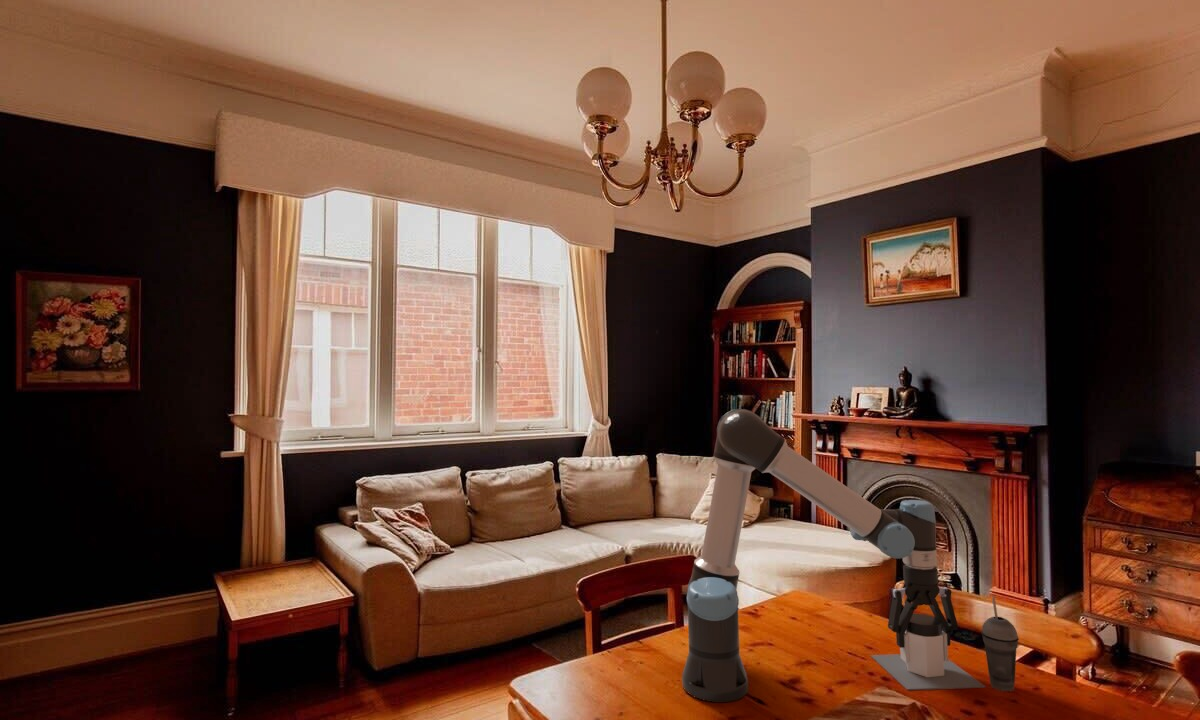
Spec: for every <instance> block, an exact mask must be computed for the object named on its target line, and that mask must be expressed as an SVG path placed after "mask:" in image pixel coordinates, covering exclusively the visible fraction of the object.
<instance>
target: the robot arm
mask: <svg viewBox="0 0 1200 720" xmlns="http://www.w3.org/2000/svg"><path fill="white" fill-rule="evenodd" d="M712 457H713V459H714V460H715V463H716V464H717V468H716V473H715V480H714V484H713V485H714V486H713V490H712V495H711V500H710V507H709V513H708V518H707V522H706V527H705V534H704V540H703V545H702V549H701V550H702V551H701V554H700V556H699V557H696V558H695V559H694V562H693V567H692V571H691V577H690V579H689V582H688V584H687V585H688V586H687V594H686V603H687V620H688V621H687V622H688V623H687V624H688V625H687V627H688V629H687V630H688V632H687V633H688V653H687V656H686V660H685V664H684V667H683V671H682V675H681V678H682V679H681V682H682V683H681V684H683V686H682V688H683V687H684V688H685V690H686V691H687V692H689V693H690V694H691V695H693V696H695V697H698V698H700V699H699V700H701V699H704V700H703V701H705V700H707V701H706V702H710V701H712V702H713V703H726V702H727V703H728V702H734V701H737V700H739V699H742V698H743V697H745V696H746V695H747V693H748V691H749V679H748V675H747V672H746V669H745V667H744V664H743V660H742V658H741V655H740V631H739V627H740V626H739V601H740V600H739V595H738V591H737V589H738V582H739V577H740V570H739V568H738V567H737V566H736V559H737V558H736V557H737V553H738V548H739V543H740V539H741V538H740V537H741V532H742V525H743V520H744V515H745V509H746V503H747V498H748V492H749V488H750V481H751V476H752V472H753V471H755V470H757V471H759V472H761V474H764V473H766V474H767V473H769V474H771V476H774V477H775V478H777V479H778V480H779V481H781V482H783V483H784V484H785V485H786V486H788V487H789V488H791V489H792V490H794V491H795V492H797V493H798V494H800V495H801V496H802V497H803V498H806V499H807V500H808V501H809V502H811V503H812V504H813V505H816V506H817V507H819V509H821V510H823V511H824V512H825V513H828V515H830V516H832V517H833V518H834V519H836V520H837V521H839V522H840V523H841V524H843V525H844V526H846V527H847V528H849V531H850V535H851V537H852V538H853V539H854V540H855V541H864V542H866V541H867V542H869V543H870V544H872V546H874V547H876V548H877V549H878V550H879V551H881V552H882V553H883V554H884V555H886V556H888V557H890V558H892V559H902V562H903V566H902V570H903V573H902V574H903V576H902V577H903V582H904V583H903V585H902V588H895V587H892V588H891V589H890V591H891V597H892V599H891V603H890V609H889V616H888V622H887V628H888V629H889V630H891V632H893V633H895V638H896V646H898V647H899V652H900V653H899V654H900V655H901V659H902V660H904V661H905V662H906V663H909V641H908V635H907V634H906V633H905V631H906V629H907V627H908V624H909V622H910V620H911V617H912V615H913V614H915V610H917V608H918V606H923V605H925V606H928V607H929V608H930V610H931V613H932V614H933V617H935V618H937V619H939V620H940V621H941V623H942V636H943V655H944V661H948V659H949V653H948V652H949V651H948V649H949V648H948V647H950V646H951V635H953V634H954V632H953V631H954V630H955V631H957V630H959V626H958V625H959V624H958V621H957V617H956V613H955V609H954V606H953V602H952V590H951V589H950V588H948V587H946V586H944V585H943V586H941V587H940V586H939V585H938V582H939V573H938V568H937V565H938V554H937V552H938V551H937V531H936V530H937V527H936V524H937V521H936V513H935V507H934V505H933V504H932V503H931V502H929V501H927V500H920V499H919V500H918V499H908V500H907V499H905V500H901V502H900V506H899V508H896V509H894V508H893V509H880V508H878V507H877V506H875V505H874V504H873V503H871V502H870V501H868V500H867V499H865V498H864V497H862V496H861V495H860V494H858V493H857V492H855V491H854V490H852V489H851V488H850V487H848V486H846V485H845V484H843V483H842V482H841V481H840V480H838V479H836V478H835V477H834V476H832V475H831V474H829V473H828V472H826V471H825V470H824V469H822V468H821V467H820V466H818V465H816V464H815V463H813V462H812V461H811V460H808V458H805V456H803V455H802V454H800V453H799V452H797V451H796V450H794V449H793V448H791V447H790V446H789V445H788V443H787V440H786V438H784V437H783V436H781V435H780V434H779V433H778V432H776V431H775V430H774V429H772V428H771V427H770V426H769V425H768V424H767V423H766V422H765V421H764V420H763V419H762V418H761V417H760V416H759V415H758V414H756V413H754V412H753V411H751V410H749V409H745V408H743V409H742V408H737V409H732V410H730V411H727V412H726V413H725V414H724V415H722V416H721V418H720V419H719V421H718V423H717V427H716V440H715V445H714V451H713V456H712ZM904 595H906V597H904ZM938 595H939V596H940V600H941V604H942V609H943V612H944V614H943V612H942V610H941V608H940V604H939V603H938V601H937V599H936V598H937V597H938ZM904 598H905V600H904V606H903V599H904ZM902 606H903V609H902ZM685 690H684V691H685ZM686 691H685V692H686ZM687 692H686V693H687ZM691 695H690V696H691ZM693 696H692V697H693ZM695 697H694V698H695ZM698 698H697V699H698ZM712 702H711V703H712Z"/></svg>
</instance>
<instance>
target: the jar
mask: <svg viewBox="0 0 1200 720" xmlns="http://www.w3.org/2000/svg"><path fill="white" fill-rule="evenodd" d="M905 633H906V634H907V635H908V641H909V663H906V665H907V669H908V671H909V672H912V673H915V674H918V675H921V676H924V677H927V678H928V677H937V676H944V655H943V636H942V623H941V621H940V620H939V619H937V618H935V616H934V615H933V616H932V615H930V614H925V613H913V615H912V617H911V620H910V622H909V624H908V627H907V629H906V631H905Z"/></svg>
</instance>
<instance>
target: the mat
mask: <svg viewBox="0 0 1200 720" xmlns="http://www.w3.org/2000/svg"><path fill="white" fill-rule="evenodd" d="M870 657H871V658H872V659H873V661H875V662H876V663H878V664H879V666H881V667H882V669H884V670H885V671H886V672H887V673H888V674H889V675H891V677H892V678H894V680H896V681H897V682H898V683H899V684H900V685H901V686H902V687H904V688H905V690H907V691H925V690H950V689H953V690H954V689H955V690H956V689H977V688H978V689H981V688H986V686H985V685H984V684H983V683H981V681H979V680H977V679H976V678H974V677H973V676H972V675H971V674H970V673H968V672H967V671H965V670H964V669H963V668H961V667H960V666H958V665H957V664H956V663H955V662H953V661H952V660H950V659H949V658H948V661H944V676H937V677H928V678H927V677H924V676H921V675H918V674H915V673H912V672H909V671H908V669H907V665H906V662H905V661H904V660H902V659H901V655H900V653H898V654H897V653H895V654H871V655H870Z"/></svg>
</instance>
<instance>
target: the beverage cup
mask: <svg viewBox="0 0 1200 720" xmlns="http://www.w3.org/2000/svg"><path fill="white" fill-rule="evenodd" d="M991 598H992V604H993V612H994V613H993V614H994V616H991V617H989V618H987V619H985V621H984V622H983V624H982V627H981V628H982V629H981V635H982V641H983V643H984V648H985V657H986V663H987V669H988V676H989V680H990V687H991V688H994V689H995V690H997V689H998V691H1000V690H1001V691H1002V692H1006V691H1010V692H1014V690H1015V683H1016V664H1017V663H1016V662H1017V649H1018V645H1019V635H1018V632H1017V630H1016V627H1015V626H1014V624H1013V623H1012V622H1011V621H1010V620H1008V619H1007V618H1004V617H1002V616H998V611H997V609H998V608H997V602H996V597H995V596H994V595H993V596H991ZM1001 691H1000V692H1001Z"/></svg>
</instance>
